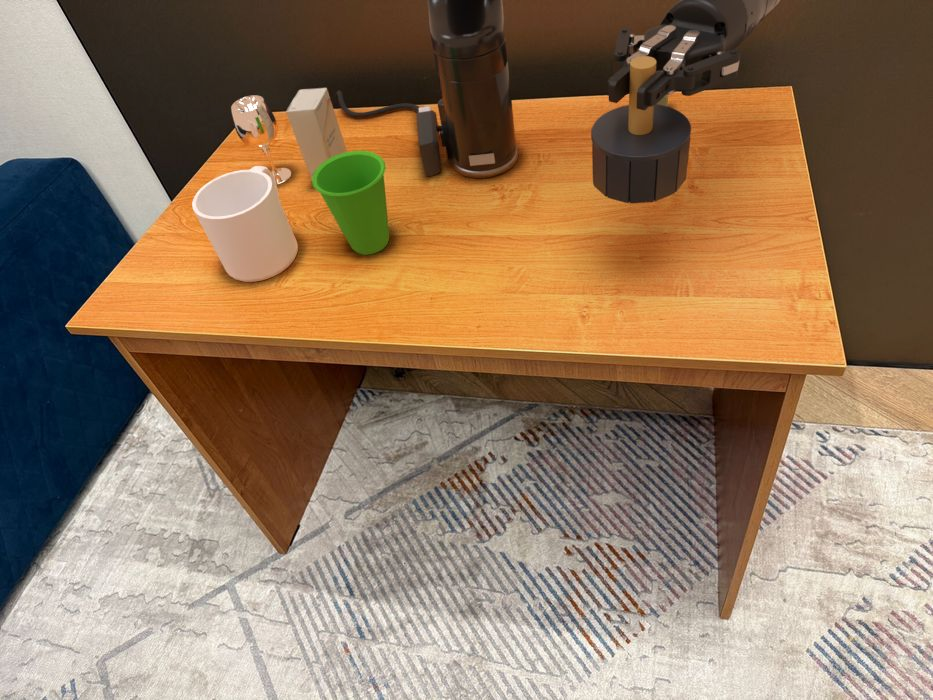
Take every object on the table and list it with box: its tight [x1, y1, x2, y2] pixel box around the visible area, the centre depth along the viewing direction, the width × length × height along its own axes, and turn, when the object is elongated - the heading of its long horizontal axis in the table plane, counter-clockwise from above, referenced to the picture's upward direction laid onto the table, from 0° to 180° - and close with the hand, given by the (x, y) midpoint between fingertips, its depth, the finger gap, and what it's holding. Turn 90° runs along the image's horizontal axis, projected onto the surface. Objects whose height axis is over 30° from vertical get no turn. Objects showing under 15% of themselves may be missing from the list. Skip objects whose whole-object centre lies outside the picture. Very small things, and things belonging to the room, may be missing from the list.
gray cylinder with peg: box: [590, 56, 692, 205], centre depth 70 cm, size 10×10×13 cm
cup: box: [311, 150, 390, 256], centre depth 87 cm, size 9×9×11 cm
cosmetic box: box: [285, 87, 348, 181], centre depth 99 cm, size 6×4×12 cm
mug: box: [191, 165, 299, 283], centre depth 90 cm, size 13×10×10 cm
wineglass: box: [230, 94, 292, 186], centre depth 101 cm, size 6×6×12 cm
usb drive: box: [416, 105, 442, 178], centre depth 102 cm, size 5×12×3 cm
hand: (626, 96), depth 65 cm, fingers closed on gray cylinder with peg, 2 cm apart
